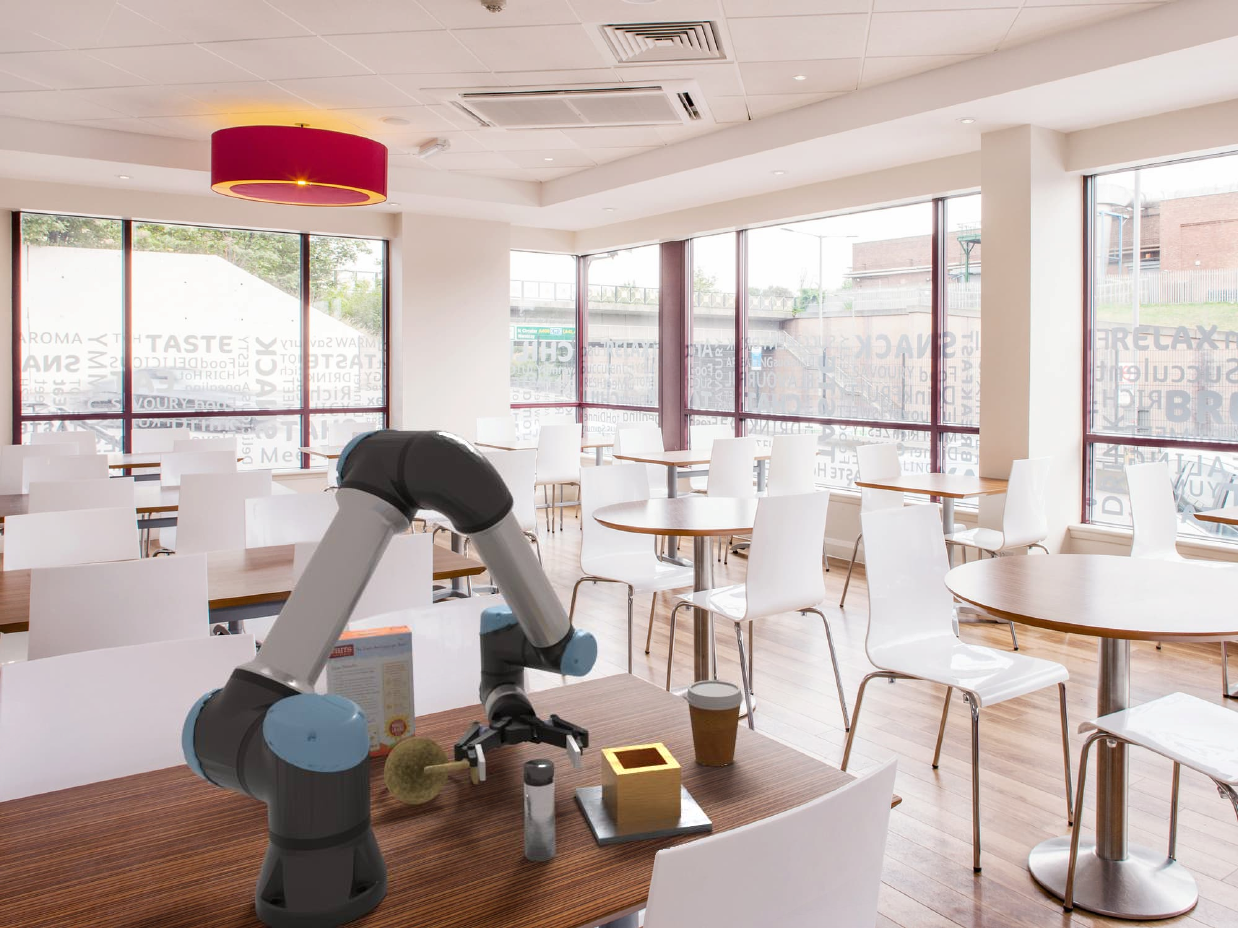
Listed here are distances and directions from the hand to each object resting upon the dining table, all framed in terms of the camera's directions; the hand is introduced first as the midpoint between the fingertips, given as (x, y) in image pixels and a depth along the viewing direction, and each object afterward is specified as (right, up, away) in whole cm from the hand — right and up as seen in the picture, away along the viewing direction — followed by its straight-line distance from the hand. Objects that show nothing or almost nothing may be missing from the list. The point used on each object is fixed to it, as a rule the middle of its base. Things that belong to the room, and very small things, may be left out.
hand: (531, 765), depth 126 cm
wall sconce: (-18, -6, +17) cm, 26 cm away
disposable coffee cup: (+28, -6, +21) cm, 36 cm away
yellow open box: (+16, -7, +3) cm, 18 cm away
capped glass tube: (+2, -8, -9) cm, 13 cm away
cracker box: (-30, -7, +26) cm, 40 cm away
